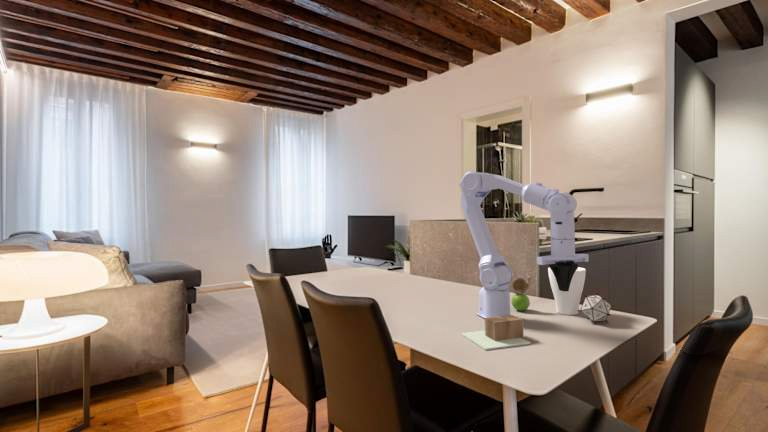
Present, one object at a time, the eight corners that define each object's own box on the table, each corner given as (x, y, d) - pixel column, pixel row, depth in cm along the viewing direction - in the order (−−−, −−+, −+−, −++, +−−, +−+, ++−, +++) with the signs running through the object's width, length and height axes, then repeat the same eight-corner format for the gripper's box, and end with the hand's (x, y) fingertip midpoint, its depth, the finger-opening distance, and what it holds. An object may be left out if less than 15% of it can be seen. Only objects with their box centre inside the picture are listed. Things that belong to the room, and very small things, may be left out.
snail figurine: (535, 312, 119) (534, 273, 119) (514, 312, 119) (514, 274, 119) (529, 308, 124) (528, 271, 124) (509, 308, 125) (508, 271, 124)
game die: (604, 336, 106) (623, 313, 100) (573, 325, 107) (590, 301, 102) (600, 314, 113) (618, 291, 107) (571, 303, 114) (587, 280, 109)
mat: (461, 334, 100) (461, 333, 100) (502, 329, 103) (502, 328, 103) (485, 350, 88) (485, 348, 88) (530, 344, 91) (530, 342, 91)
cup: (569, 318, 111) (568, 272, 111) (541, 310, 121) (540, 267, 120) (594, 314, 115) (593, 269, 115) (565, 306, 125) (564, 265, 125)
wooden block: (513, 332, 99) (485, 335, 97) (512, 314, 99) (484, 317, 97) (523, 337, 95) (495, 341, 93) (523, 319, 95) (494, 322, 93)
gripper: (549, 241, 95) (550, 296, 95) (597, 238, 99) (598, 291, 99) (531, 239, 102) (532, 290, 102) (576, 236, 106) (578, 286, 106)
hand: (563, 290), depth 101 cm, fingers closed
